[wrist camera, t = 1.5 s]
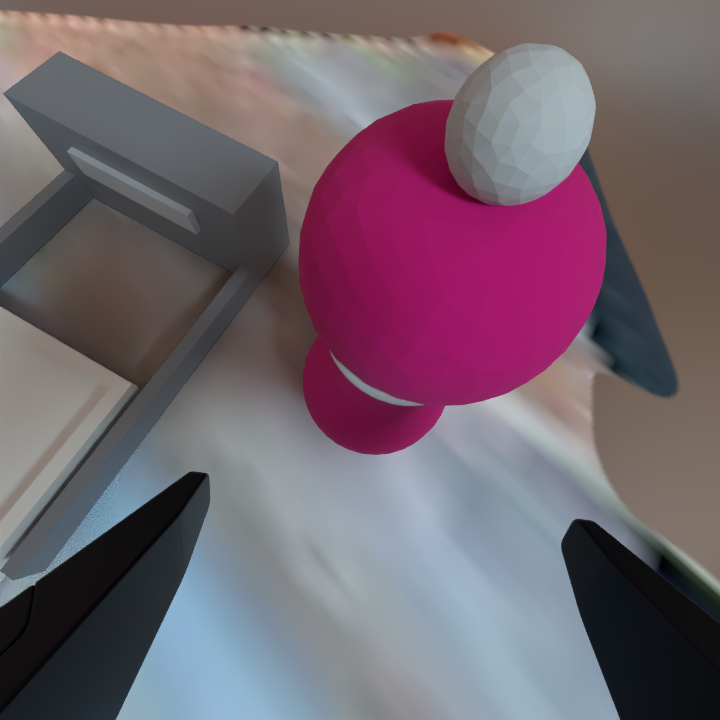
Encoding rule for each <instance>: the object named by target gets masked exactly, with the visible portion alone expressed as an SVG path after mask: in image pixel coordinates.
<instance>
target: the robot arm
mask: <svg viewBox="0 0 720 720" xmlns="http://www.w3.org/2000/svg"><path fill="white" fill-rule="evenodd" d="M209 503H210V483H209V475H208V474H207V473H202V472H194V471H192V472H189V473H187V474H186V475H185V476H183V477H182V478H180V479H179V480H178V481H176V482H175V483H173V484H172V485H171V486H169V487H168V488H166V489H165V490H164V491H162V492H161V493H159V494H158V495H157V496H155V497H154V498H152V499H151V500H150V501H148V502H147V503H146V504H144V505H143V506H141V507H140V508H139V509H137V510H136V511H134V512H133V513H132V514H130V515H129V516H127V517H126V518H125V519H123V520H122V521H120V522H119V523H118V524H116V525H115V526H114V527H112V528H111V529H109V530H108V531H107V532H105V533H104V534H102V535H101V536H100V537H98V538H97V539H95V540H94V541H93V542H91V543H90V544H88V545H87V546H86V547H84V548H83V549H82V550H80V551H79V552H77V553H76V554H75V555H73V556H72V557H70V558H69V559H68V560H66V561H65V562H63V563H62V564H61V565H59V566H58V567H56V568H55V569H54V570H52V571H51V572H49V573H48V574H47V575H45V576H44V577H43V578H41V579H40V580H38V581H37V582H36V584H35V586H34V585H32V586H30V587H28V588H27V589H26V590H24V591H23V592H21V593H20V594H19V595H17V596H16V597H14V598H13V599H12V600H10V601H9V602H7V603H6V604H5V605H3V606H2V607H0V720H116V718H117V716H118V714H119V712H120V710H121V708H122V705H123V703H124V701H125V699H126V697H127V695H128V693H129V691H130V689H131V687H132V684H133V682H134V680H135V678H136V676H137V674H138V672H139V670H140V668H141V665H142V663H143V661H144V659H145V657H146V655H147V653H148V651H149V649H150V647H151V644H152V642H153V640H154V638H155V636H156V634H157V632H158V630H159V628H160V625H161V623H162V621H163V619H164V617H165V615H166V613H167V611H168V609H169V607H170V604H171V602H172V600H173V598H174V596H175V594H176V592H177V590H178V588H179V586H180V583H181V581H182V579H183V577H184V574H185V572H186V569H187V567H188V564H189V561H190V559H191V556H192V553H193V550H194V547H195V544H196V542H197V539H198V536H199V533H200V530H201V528H202V525H203V522H204V519H205V516H206V513H207V511H208V508H209ZM561 549H562V553H563V557H564V560H565V564H566V567H567V571H568V574H569V578H570V581H571V585H572V589H573V592H574V596H575V599H576V603H577V606H578V609H579V612H580V615H581V618H582V621H583V624H584V627H585V629H586V632H587V635H588V637H589V640H590V642H591V645H592V648H593V650H594V653H595V655H596V658H597V661H598V663H599V666H600V668H601V671H602V674H603V676H604V679H605V681H606V684H607V687H608V689H609V692H610V694H611V697H612V700H613V702H614V705H615V707H616V710H617V713H618V715H619V718H620V720H720V623H719V622H717V621H716V620H715V619H714V618H712V617H711V616H710V615H709V614H708V613H706V612H705V611H704V610H703V609H701V608H700V607H699V606H698V605H696V604H695V603H694V602H693V601H691V600H690V599H689V598H688V597H687V596H685V595H684V594H683V593H682V592H680V591H679V590H678V589H677V588H675V587H674V586H673V585H672V584H670V583H669V582H668V581H667V580H666V579H664V578H663V577H662V576H661V575H659V574H658V573H657V572H656V571H654V570H653V569H652V568H651V567H650V566H648V565H647V564H646V563H645V562H643V561H642V560H641V559H640V558H638V557H637V556H636V555H635V554H633V553H632V552H631V551H630V550H629V549H627V548H626V547H625V546H624V545H622V544H621V543H620V542H619V541H617V540H616V539H615V538H614V537H613V536H611V535H610V534H609V533H608V532H606V531H605V530H604V529H603V528H601V527H600V526H599V525H598V524H596V523H595V522H593V521H591V520H584V519H575V520H574V521H573V522H572V523H571V525H570V527H569V529H568V530H567V532H566V534H565V536H564V538H563V539H562V543H561Z"/></svg>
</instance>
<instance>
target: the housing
mask: <svg viewBox="0 0 720 720" xmlns="http://www.w3.org/2000/svg"><path fill="white" fill-rule="evenodd" d="M3 94H4V95H5V96H6V98H7V99H8V100H9V101H10V102H11V104H12V105H13V106H14V107H15V109H16V110H17V111H18V112H19V114H20V115H21V116H22V117H23V118H24V120H25V121H26V122H27V123H28V125H29V126H30V127H31V128H32V130H33V131H34V132H35V133H36V134H37V136H38V137H39V138H40V139H41V141H42V142H43V143H44V144H45V145H46V147H47V148H48V149H49V150H50V152H51V153H52V154H53V155H54V157H55V158H56V159H57V160H58V161H59V163H60V164H61V165H62V166H63V168H64V169H65V170H64V171H63V172H62V173H61V174H60V175H59V176H58V177H57V178H55V179H54V180H53V181H52V182H51V183H50V184H49V185H48V186H47V187H45V188H44V189H43V190H42V191H41V192H40V193H39V194H38V195H36V196H35V197H34V198H33V199H32V200H31V201H30V202H29V203H28V204H26V205H25V206H24V207H23V208H22V209H21V210H20V211H19V212H18V213H16V214H15V215H14V216H13V217H12V218H11V219H10V220H9V221H8V222H6V223H5V224H4V225H3V226H2V227H1V228H0V287H1V286H2V285H3V284H4V283H5V282H6V281H7V280H8V279H9V278H10V277H11V276H12V275H13V274H14V273H15V272H16V271H17V270H19V269H20V268H21V267H22V266H23V265H24V264H25V263H26V262H27V261H28V260H29V259H30V258H31V257H32V256H33V255H34V254H35V253H36V252H37V251H38V250H39V249H40V248H41V247H42V246H43V245H45V244H46V243H47V242H48V241H49V240H50V239H51V238H52V237H53V236H54V235H55V234H56V233H57V232H58V231H59V230H60V229H61V228H62V227H63V226H64V225H65V224H66V223H67V222H68V221H69V220H71V219H72V218H73V217H74V216H75V215H76V214H77V213H78V212H79V211H80V210H81V209H82V208H83V207H84V206H85V205H86V204H87V203H88V202H89V201H90V200H91V199H92V198H95V199H97V200H98V201H100V202H102V203H104V204H106V205H108V206H110V207H111V208H113V209H115V210H117V211H119V212H121V213H122V214H124V215H126V216H128V217H130V218H132V219H134V220H135V221H137V222H139V223H141V224H143V225H145V226H146V227H148V228H150V229H152V230H154V231H156V232H158V233H159V234H161V235H163V236H165V237H167V238H169V239H171V240H172V241H174V242H176V243H178V244H180V245H182V246H183V247H185V248H187V249H189V250H191V251H193V252H195V253H196V254H198V255H200V256H202V257H204V258H206V259H207V260H209V261H211V262H213V263H215V264H217V265H219V266H220V267H222V268H224V269H226V270H228V271H230V272H231V273H233V275H232V276H231V277H230V279H229V280H228V281H227V283H226V284H225V285H224V286H223V288H222V289H221V290H220V291H219V293H218V294H217V295H216V296H215V298H214V299H213V300H212V302H211V303H210V304H209V305H208V307H207V308H206V309H205V310H204V312H203V313H202V314H201V316H200V317H199V318H198V319H197V321H196V322H195V323H194V324H193V326H192V327H191V328H190V330H189V331H188V332H187V333H186V335H185V336H184V337H183V338H182V340H181V341H180V342H179V343H178V345H177V346H176V347H175V349H174V350H173V351H172V352H171V354H170V355H169V356H168V357H167V359H166V360H165V361H164V363H163V364H162V365H161V366H160V368H159V369H158V370H157V371H156V373H155V374H154V375H153V377H152V378H151V379H150V380H149V382H148V383H147V384H146V385H145V387H144V388H143V389H142V391H141V392H140V393H139V394H138V396H137V397H136V398H135V399H134V401H133V402H132V403H131V404H130V406H129V407H128V408H127V410H126V411H125V412H124V413H123V415H122V416H121V417H120V418H119V420H118V421H117V422H116V424H115V425H114V426H113V427H112V429H111V430H110V431H109V432H108V434H107V435H106V436H105V438H104V439H103V440H102V441H101V443H100V444H99V445H98V446H97V448H96V449H95V450H94V451H93V453H92V454H91V455H90V457H89V458H88V459H87V460H86V462H85V463H84V464H83V465H82V467H81V468H80V469H79V471H78V472H77V473H76V474H75V476H74V477H73V478H72V479H71V481H70V482H69V483H68V485H67V486H66V487H65V488H64V490H63V491H62V492H61V493H60V495H59V496H58V497H57V499H56V500H55V501H54V502H53V504H52V505H51V506H50V507H49V509H48V510H47V511H46V512H45V514H44V515H43V516H42V518H41V519H40V520H39V521H38V523H37V524H36V525H35V526H34V528H33V529H32V530H31V532H30V533H29V534H28V535H27V537H26V538H25V539H24V540H23V542H22V543H21V544H20V546H19V547H18V548H17V549H16V551H15V552H14V553H13V554H12V556H11V557H10V558H9V559H8V561H7V562H6V563H5V565H4V566H3V567H2V568H1V570H0V572H2V573H3V574H5V575H6V576H8V577H9V578H11V579H13V580H16V579H19V578H23V577H26V576H29V575H33V574H36V573H40V572H43V571H45V570H46V568H47V567H48V566H49V564H50V563H51V562H52V560H53V559H54V558H55V556H56V555H57V554H58V552H59V551H60V550H61V548H62V547H63V546H64V544H65V543H66V542H67V540H68V539H69V538H70V536H71V535H72V534H73V532H74V531H75V530H76V528H77V527H78V526H79V524H80V523H81V522H82V520H83V519H84V518H85V516H86V515H87V514H88V512H89V511H90V510H91V508H92V507H93V506H94V504H95V503H96V502H97V500H98V499H99V498H100V496H101V495H102V494H103V492H104V491H105V490H106V488H107V487H108V486H109V484H110V483H111V481H112V480H113V479H114V477H115V476H116V475H117V473H118V472H119V471H120V469H121V468H122V467H123V465H124V464H125V463H126V461H127V460H128V459H129V457H130V456H131V455H132V453H133V452H134V451H135V449H136V448H137V447H138V445H139V444H140V443H141V441H142V440H143V439H144V437H145V436H146V435H147V433H148V432H149V431H150V429H151V428H152V427H153V425H154V424H155V423H156V421H157V420H158V419H159V417H160V416H161V415H162V413H163V412H164V411H165V409H166V408H167V407H168V405H169V404H170V403H171V401H172V400H173V399H174V397H175V396H176V395H177V393H178V392H179V391H180V389H181V388H182V387H183V385H184V384H185V383H186V381H187V380H188V379H189V377H190V376H191V375H192V373H193V372H194V371H195V369H196V368H197V367H198V365H199V364H200V363H201V361H202V360H203V359H204V357H205V356H206V355H207V353H208V352H209V351H210V349H211V348H212V347H213V345H214V344H215V343H216V341H217V340H218V339H219V337H220V336H221V334H222V333H223V332H224V330H225V329H226V328H227V326H228V325H229V324H230V322H231V321H232V320H233V318H234V317H235V316H236V314H237V313H238V312H239V310H240V309H241V308H242V306H243V305H244V304H245V302H246V301H247V300H248V298H249V297H250V296H251V294H252V293H253V292H254V290H255V289H256V288H257V286H258V285H259V284H260V282H261V281H262V280H263V278H264V277H265V276H266V274H267V273H268V272H269V270H270V269H271V268H272V266H273V265H274V264H275V262H276V261H277V260H278V258H279V257H280V256H281V254H282V253H283V252H284V250H285V249H286V248H287V246H288V245H289V244H290V243H289V236H288V229H287V222H286V215H285V208H284V201H283V194H282V187H281V180H280V174H279V167H278V162H277V161H275V160H273V159H271V158H269V157H267V156H265V155H263V154H261V153H259V152H257V151H255V150H253V149H251V148H249V147H247V146H246V145H244V144H242V143H240V142H238V141H236V140H234V139H232V138H230V137H228V136H226V135H224V134H222V133H220V132H218V131H216V130H214V129H212V128H210V127H208V126H206V125H204V124H202V123H200V122H198V121H196V120H194V119H192V118H190V117H188V116H186V115H184V114H182V113H180V112H178V111H176V110H174V109H173V108H171V107H169V106H167V105H165V104H163V103H161V102H159V101H157V100H155V99H153V98H151V97H149V96H147V95H145V94H143V93H141V92H139V91H137V90H135V89H133V88H131V87H129V86H127V85H125V84H123V83H121V82H119V81H117V80H115V79H113V78H111V77H109V76H107V75H105V74H103V73H102V72H100V71H98V70H96V69H94V68H92V67H90V66H88V65H86V64H84V63H82V62H80V61H78V60H76V59H74V58H72V57H70V56H68V55H66V54H64V53H62V52H60V51H59V52H57V53H56V54H55V55H53V56H52V57H51V58H50V59H48V60H47V61H46V62H44V63H43V64H42V65H40V66H39V67H38V68H36V69H35V70H34V71H32V72H31V73H30V74H28V75H27V76H26V77H24V78H23V79H22V80H20V81H19V82H18V83H16V84H15V85H14V86H12V87H11V88H10V89H8V90H7V91H6V92H4V93H3Z"/></svg>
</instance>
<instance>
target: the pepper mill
mask: <svg viewBox="0 0 720 720" xmlns="http://www.w3.org/2000/svg"><path fill="white" fill-rule="evenodd" d="M595 109H596V104H595V99H594V94H593V91H592V88H591V85H590V81H589V78H588V76H587V74H586V72H585V70H584V69H583V67H582V65H581V63H580V62H579V61H577V60H576V59H575V58H574V57H572V56H571V55H570V54H568V53H567V52H566V51H565V50H563V49H561V48H558V47H556V46H553V45H546V44H530V43H523V44H521V45H518V46H515V47H512V48H509V49H506V50H504V51H502V52H499V53H497V54H495V55H493V56H492V57H491V58H489V59H488V60H487V61H485V62H484V63H483V64H481V65H480V66H479V67H478V68H477V69H476V70H475V71H474V72H473V73H472V74H471V75H470V76H469V77H468V78H467V80H466V81H465V83H464V84H463V86H462V87H461V89H460V90H459V92H458V93H457V95H456V97H455V99H454V100H435V101H429V102H424V103H418V104H413V105H411V106H408V107H406V108H404V109H401V110H399V111H396V112H394V113H392V114H389V115H387V116H385V117H383V118H380V119H378V120H376V121H375V122H373V123H372V124H371V125H369V126H368V127H367V128H365V129H364V130H362V131H361V132H360V133H358V134H357V135H356V136H355V137H354V138H353V139H352V140H351V141H350V142H349V143H348V144H347V145H346V146H345V147H344V148H343V149H342V150H341V151H340V152H339V153H338V154H337V155H336V156H335V158H334V159H333V160H332V161H331V163H330V164H329V165H328V166H327V168H326V169H325V171H324V173H323V174H322V176H321V177H320V179H319V181H318V182H317V184H316V185H315V187H314V190H313V193H312V196H311V199H310V202H309V205H308V208H307V211H306V214H305V218H304V221H303V225H302V229H301V232H300V245H299V261H298V262H299V276H300V285H301V289H302V293H303V297H304V301H305V304H306V307H307V310H308V312H309V315H310V318H311V320H312V323H313V326H314V328H315V330H316V331H317V333H318V334H319V336H318V337H317V338H316V340H315V342H314V343H313V345H312V347H311V348H310V351H309V353H308V356H307V358H306V363H305V367H304V377H303V389H304V397H305V400H306V404H307V407H308V410H309V412H310V414H311V416H312V418H313V420H314V421H315V423H316V424H317V425H318V427H319V428H320V429H321V430H322V431H323V432H324V433H325V434H326V435H327V436H328V437H329V438H330V439H332V440H333V441H334V442H336V443H337V444H339V445H341V446H343V447H345V448H346V449H349V450H352V451H355V452H359V453H362V454H373V455H379V454H389V453H393V452H396V451H399V450H402V449H405V448H406V447H408V446H410V445H412V444H414V443H415V442H417V441H418V440H419V439H421V438H422V437H423V436H424V435H425V434H426V433H427V432H428V431H429V430H430V429H431V428H432V427H433V426H434V425H435V423H436V422H437V420H438V419H439V417H440V416H441V414H442V412H443V409H444V407H445V406H446V405H465V404H470V403H475V402H480V401H484V400H487V399H490V398H494V397H497V396H500V395H503V394H506V393H508V392H510V391H512V390H514V389H515V388H517V387H519V386H521V385H523V384H525V383H527V382H528V381H530V380H531V379H533V378H534V377H535V376H537V375H538V374H540V373H541V372H543V371H544V370H546V369H547V368H548V367H549V366H550V365H551V364H552V363H553V362H554V361H555V360H556V359H557V358H558V357H559V356H560V355H561V354H562V353H564V352H565V351H566V349H567V348H568V347H569V345H570V344H571V343H572V341H573V340H574V338H575V337H576V336H577V334H578V333H579V332H580V330H581V329H582V327H583V326H584V324H585V322H586V321H587V319H588V317H589V316H590V314H591V311H592V309H593V307H594V304H595V302H596V300H597V297H598V294H599V291H600V288H601V285H602V282H603V275H604V268H605V261H606V228H605V223H604V219H603V214H602V209H601V206H600V203H599V200H598V198H597V196H596V194H595V191H594V189H593V187H592V185H591V182H590V180H589V178H588V177H587V175H586V173H585V172H584V170H583V169H582V167H581V166H580V165H579V163H578V162H579V160H580V158H581V157H582V155H583V153H584V152H585V150H586V148H587V146H588V143H589V141H590V138H591V132H592V127H593V121H594V115H595Z"/></svg>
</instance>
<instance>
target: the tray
mask: <svg viewBox="0 0 720 720" xmlns="http://www.w3.org/2000/svg"><path fill="white" fill-rule="evenodd" d="M141 391H142V389H141V388H140V387H138V386H136V385H134V384H133V383H131V382H129V381H128V380H126V379H124V378H122V377H121V376H119V375H117V374H116V373H114V372H112V371H111V370H109V369H107V368H105V367H104V366H102V365H100V364H99V363H97V362H95V361H93V360H92V359H90V358H88V357H87V356H85V355H83V354H81V353H80V352H78V351H76V350H75V349H73V348H71V347H69V346H68V345H66V344H64V343H63V342H61V341H59V340H57V339H56V338H54V337H52V336H51V335H49V334H47V333H46V332H44V331H42V330H40V329H39V328H37V327H35V326H34V325H32V324H30V323H28V322H27V321H25V320H23V319H22V318H20V317H18V316H16V315H15V314H13V313H11V312H10V311H8V310H6V309H4V308H3V307H1V306H0V570H1V568H2V567H3V566H4V565H5V563H6V562H7V561H8V559H9V558H10V557H11V556H12V554H13V553H14V552H15V551H16V549H17V548H18V547H19V546H20V544H21V543H22V542H23V540H24V539H25V538H26V537H27V535H28V534H29V533H30V532H31V530H32V529H33V528H34V526H35V525H36V524H37V523H38V521H39V520H40V519H41V518H42V516H43V515H44V514H45V512H46V511H47V510H48V509H49V507H50V506H51V505H52V504H53V502H54V501H55V500H56V499H57V497H58V496H59V495H60V493H61V492H62V491H63V490H64V488H65V487H66V486H67V485H68V483H69V482H70V481H71V479H72V478H73V477H74V476H75V474H76V473H77V472H78V471H79V469H80V468H81V467H82V465H83V464H84V463H85V462H86V460H87V459H88V458H89V457H90V455H91V454H92V453H93V451H94V450H95V449H96V448H97V446H98V445H99V444H100V443H101V441H102V440H103V439H104V438H105V436H106V435H107V434H108V432H109V431H110V430H111V429H112V427H113V426H114V425H115V424H116V422H117V421H118V420H119V418H120V417H121V416H122V415H123V413H124V412H125V411H126V410H127V408H128V407H129V406H130V404H131V403H132V402H133V401H134V399H135V398H136V397H137V396H138V394H139V393H140V392H141ZM5 576H6V575H5V574H3V573H2V572H0V583H1V581H2V580H3V579H4V578H5Z"/></svg>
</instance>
